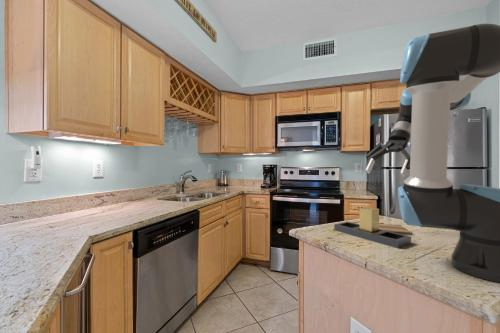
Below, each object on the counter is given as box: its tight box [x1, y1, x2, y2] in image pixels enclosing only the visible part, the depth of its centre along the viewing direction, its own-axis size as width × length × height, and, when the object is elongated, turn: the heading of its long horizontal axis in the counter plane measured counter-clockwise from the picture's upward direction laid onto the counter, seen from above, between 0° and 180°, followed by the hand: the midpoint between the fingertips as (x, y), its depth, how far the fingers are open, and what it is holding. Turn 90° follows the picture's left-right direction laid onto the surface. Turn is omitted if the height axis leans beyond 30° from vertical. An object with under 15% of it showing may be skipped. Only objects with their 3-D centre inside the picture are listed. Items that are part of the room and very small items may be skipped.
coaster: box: [379, 223, 413, 236], centre depth 102 cm, size 12×12×2 cm
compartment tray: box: [333, 221, 412, 249], centre depth 94 cm, size 26×9×3 cm, turn 32°
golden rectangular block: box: [359, 206, 380, 233], centre depth 94 cm, size 5×5×11 cm
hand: (384, 173), depth 97 cm, fingers open, 13 cm apart
